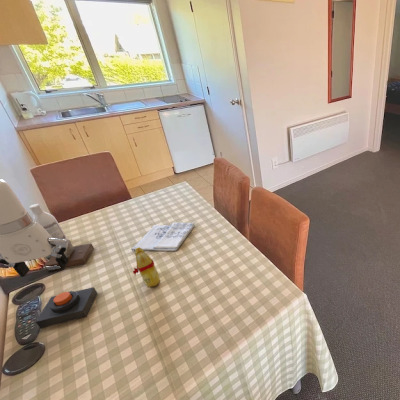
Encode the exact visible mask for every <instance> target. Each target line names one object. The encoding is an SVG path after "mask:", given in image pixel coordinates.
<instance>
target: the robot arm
mask: <svg viewBox="0 0 400 400" xmlns="http://www.w3.org/2000/svg"><path fill="white" fill-rule="evenodd" d="M68 240H69V239H68ZM68 240H62V239H53V238H52V237H51V236H50V235H49V233H48V232H47V231H46V230H45V229H44V228H43V227H42V226H41V225H40V224H39V223H38V222H37V221H33V217H32V216H31V215H30V214H29V212H28V211H27V209H26V208H25V206H24V205H23V204H22V202H21V201H20V199H19V198H18V196H17V194H16V193H15V191H14V190H13V189H12V187H11V186H10V185H9V183H8V182H7V181H5V180H4V179H1V178H0V264H1V265H4V266H7V267H8V268H13V270H14V271H15V272H16V273H17V274H18V275H19V276H20V277H21V278H23V277H26V276H27V274H28V273H29V271H31V269H30V268H29V266H28V265H27V264H26V262H29V261H32V260H38V259H42V258H46V257H49V256H51V257H52V256H54V257H56V259H55V260H56V261H57V263H58V264H59V266H60V267H61V268H63V269H66V268H65V266H66V265H67V263H68V258H67V257H66V255H65V254H64V252H65V251H66V249H67V248H68ZM56 245H60V246H61V248H59V247H56ZM55 251H57V252H58V253H57V252H55Z"/></svg>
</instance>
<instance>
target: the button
mask: <svg viewBox="0 0 400 400" xmlns="http://www.w3.org/2000/svg"><path fill="white" fill-rule="evenodd" d="M55 296H56V297H55V298H54V300H53V301H54V302H55V304H56V305H58V306H60V305H63V304H65V303H67V302H69V301H70V300H71V299H72V296H71V294H70V293H69V291H64V292H61V293H59V294H56V295H55Z"/></svg>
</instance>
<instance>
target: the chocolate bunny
mask: <svg viewBox="0 0 400 400" xmlns="http://www.w3.org/2000/svg"><path fill="white" fill-rule="evenodd" d="M145 251H146V250H143V249H141V248H140V247H138V248H136V250H134V254H135V263H136V267H134V268H133V271H132V274H134V276H136V275H137V274H138V273H139V274H140V276H141V279H142V281H143V282H144V283H145V284H146V286H147V287H148V288H149V287H150V288H151V287H156V286H157V285H158V284H159V283H160V282H161V279H160V274H159V272H158V270H157V268H156V265H155V262H154V260H153V259H152V258H151V256H150V255H149V254H148V253H147V252H145Z"/></svg>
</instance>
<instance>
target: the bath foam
mask: <svg viewBox="0 0 400 400" xmlns="http://www.w3.org/2000/svg"><path fill="white" fill-rule="evenodd" d="M29 209H30V211H31V212H32V214H33V217H32V220H33V221H37V222H38V223H39V224H40V225H41V226H42V227H43V228H44V229H45V230H46V231H47V232H48V233H49V235H50V236H51V237H52V238H53V239H62V240H69V238H68V236H67V234H66V233H65V231H64V230H63V228H62V226H61V225H60V223H59V222H58V220H57V219H56V217H55V216H54V215H52V214H51V213H49V212H46V211H44V210H43V208H42V207H41V205H40V204H39V203H35V204H31V205H29Z"/></svg>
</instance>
